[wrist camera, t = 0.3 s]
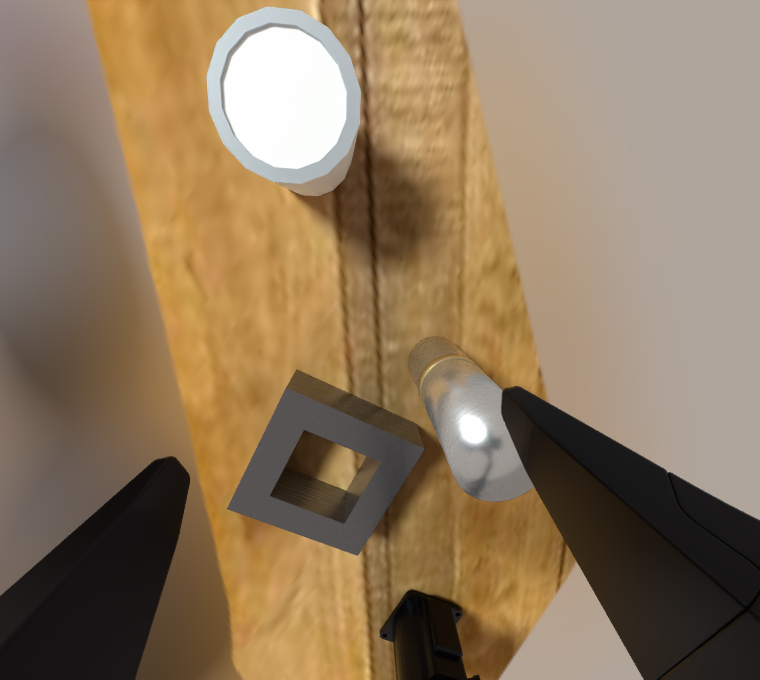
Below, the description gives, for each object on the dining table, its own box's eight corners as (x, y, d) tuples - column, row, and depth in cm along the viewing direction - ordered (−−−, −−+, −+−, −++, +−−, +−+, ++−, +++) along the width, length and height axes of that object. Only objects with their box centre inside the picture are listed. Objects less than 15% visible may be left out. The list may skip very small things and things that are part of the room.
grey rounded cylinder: (443, 394, 26) (515, 515, 14) (398, 373, 25) (432, 480, 13) (470, 350, 25) (572, 438, 13) (424, 326, 24) (487, 396, 12)
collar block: (358, 520, 29) (357, 555, 25) (243, 477, 27) (226, 509, 23) (416, 424, 26) (424, 448, 23) (296, 369, 24) (286, 387, 21)
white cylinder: (352, 82, 20) (347, -7, 13) (368, 198, 22) (372, 172, 15) (244, 97, 20) (183, 15, 13) (270, 213, 21) (228, 193, 15)
